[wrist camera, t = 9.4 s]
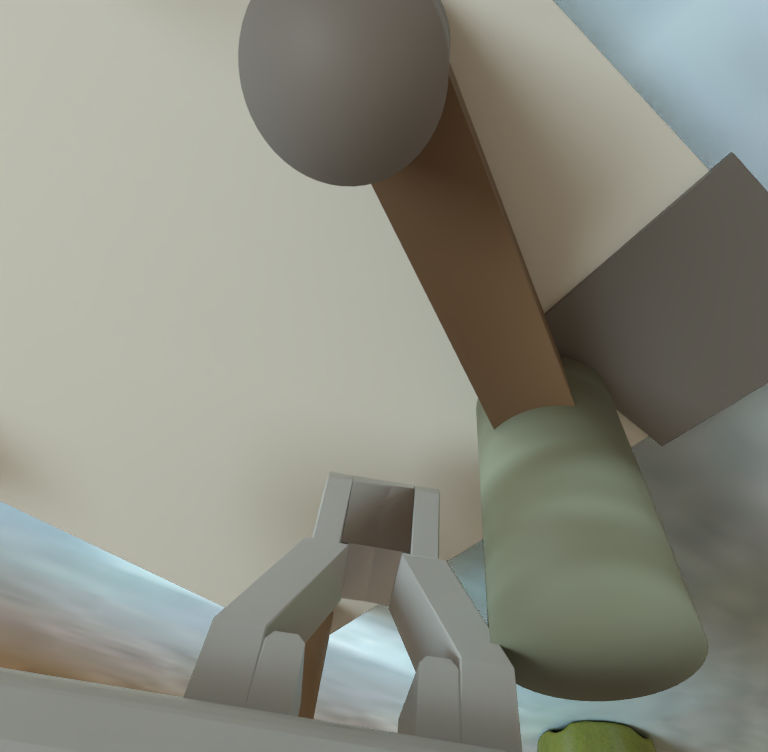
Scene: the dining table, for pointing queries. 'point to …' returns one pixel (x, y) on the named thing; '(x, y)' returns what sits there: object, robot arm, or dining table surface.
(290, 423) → the stool seat
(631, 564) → the swing leg
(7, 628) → the dining table surface
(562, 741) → the plant pot
